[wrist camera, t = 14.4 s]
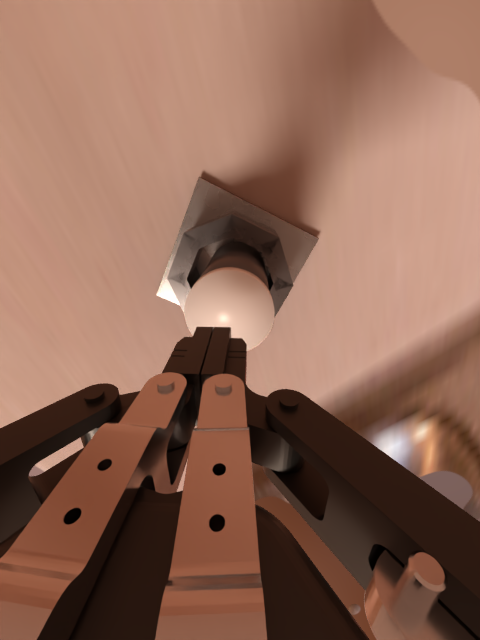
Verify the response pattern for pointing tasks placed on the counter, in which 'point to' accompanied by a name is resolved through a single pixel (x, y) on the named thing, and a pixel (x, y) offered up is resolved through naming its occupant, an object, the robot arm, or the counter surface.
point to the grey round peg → (233, 295)
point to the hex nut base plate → (233, 226)
